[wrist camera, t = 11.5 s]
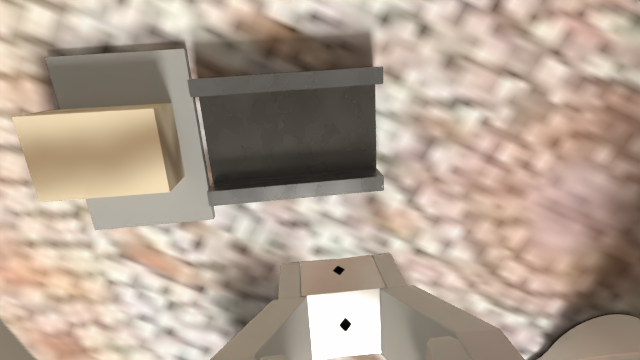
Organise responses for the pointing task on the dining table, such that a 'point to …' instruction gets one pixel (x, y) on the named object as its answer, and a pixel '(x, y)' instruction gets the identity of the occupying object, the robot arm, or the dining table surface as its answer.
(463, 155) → the dining table surface
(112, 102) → the slate mat
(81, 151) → the birch block
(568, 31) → the dining table surface
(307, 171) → the metal chute
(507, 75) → the dining table surface
